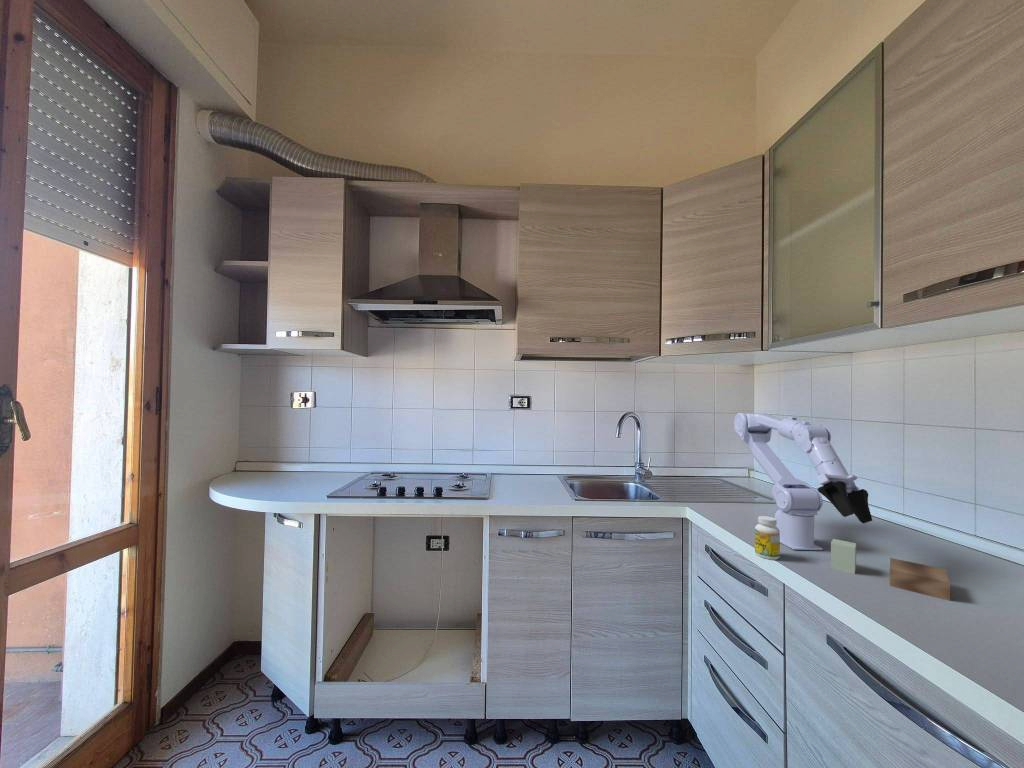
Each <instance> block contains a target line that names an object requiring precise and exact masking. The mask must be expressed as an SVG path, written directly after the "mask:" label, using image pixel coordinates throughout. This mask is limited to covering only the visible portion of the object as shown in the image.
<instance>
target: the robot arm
mask: <svg viewBox="0 0 1024 768" xmlns="http://www.w3.org/2000/svg"><path fill="white" fill-rule="evenodd" d="M733 425H734V431H735V432H736V434H737V435H738V436H739V438H741V440H742V441H743V442H744V444H745V447H746V449H747V450H748V451H749V452H750V454H751V455H752V457H753V458H754V459H755V461H756V462H757V464H758V465H759V466H760V467H761V469H762V470H763V471H764V472H765V474H766V475H767V476H768V478H769V479H770V480H771V482H772V483H773V484H774V485H773V487H772V488H771V489H772V490H771V495H772V496H773V498H774V500H775V501H774V502H775V504H776V505H777V507H778V509H777V510H776V512H775V514H774V517H773V518H775V519H776V520H777V524H776V527H777V528H778V529H779V530H780V544H782V545H784V546H786V547H788V548H790V549H792V550H795V551H823V547H821V546H819V545H817V544H815V516H817V515H818V512H819V511H821V510H822V507H823V504H824V503H823V501H824V500H823V497H824V498H826V500H828V501H829V502H830V503H831V504H832V505H833V506H834V507H835V509H836V510H837V511H838V512H839V514H840V515H841V516H842V517H844V518H847V517H849V516H853V515H854V516H855V517H856V518H857V519H858V521H860V523H862V524H867V523H870V522H872V521H873V518H872V513H871V511H870V506H869V493H868V490H866V489H863V488H861V489H860V487H858V486H856V483H855V481H857V479H858V477H857V475H855V474H850V475H849V473H848V471H847V469H846V467H845V466H844V464H843V463H842V461H841V458H840V456H838V454H837V452H836V451H835V449H834V447H833V445H832V444H831V438H832V435H831V432H830V429H829V428H828V427H827V426H825V425H823V424H814V425H813V424H811V423H810V422H809V421H807V420H805V421H804V420H803V421H801V420H798V418H797V417H795V416H788V417H785V418H783V419H782V418H779V417H777V416H774V415H772V414H771V413H768V412H767V413H749V412H747V413H744V412H738V413H737V414H736V415H735V417H734V421H733ZM773 430H774V431H777V432H778V434H779V435H780V436H781V437H783V438H785V439H789V440H791V441H794V444H796V445H797V446H798V447H800V448H801V449H802V451H803V452H804V453H806V454H807V457H808V458H809V461H811V463H812V466H813V467H814V470H815V471H816V473H817V474H818V475H817V476H815V478H816V480H817V482H818V483H819V485H821V486H820V487H817V489H816V488H814V487H812V486H811V485H810V484H809V483H808V482H806V481H803V480H801V479H799V478H796V477H795V475H793V474H792V472H791V471H790V470H789V469H788V468H787V467H786V465H785V464H784V463H783V462H782V460H781V459H780V458H779V456H777V454H776V453H775V452H774V451H773V449H772V448H771V447H770V446H769V445H768V443H769V442H770V441H771V437H772V432H773ZM822 496H823V497H822Z"/></svg>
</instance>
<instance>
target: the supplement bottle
mask: <svg viewBox="0 0 1024 768" xmlns="http://www.w3.org/2000/svg"><path fill="white" fill-rule="evenodd" d="M757 522H758V524H756V525H755V526H754V553H755V555H756V556H758V557H759V558H762V559H766V560H772V561H777V560H778V559H780V554H781V551H780V550H781V543H780V530H779V529H778V528H777V527H776V524H777V520H776V519H775V518H774V517H772V516H767V515H759V516H758V517H757Z"/></svg>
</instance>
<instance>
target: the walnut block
mask: <svg viewBox="0 0 1024 768" xmlns="http://www.w3.org/2000/svg"><path fill="white" fill-rule="evenodd" d="M889 562H890V563H889V586H890V587H893V588H895V589H901V590H905V591H908V592H912V593H916V594H921V595H924V596H929V597H933V598H936V599H941V600H945V601H949V602H950V601H951V582H950V578H949V577H950V576H949V574H948V571H947V569H945V568H941V567H936V566H932V565H926V564H922V563H916V562H912V561H907V560H903V559H899V558H898V559H897V558H893V557H890V560H889Z"/></svg>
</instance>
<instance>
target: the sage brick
mask: <svg viewBox="0 0 1024 768" xmlns="http://www.w3.org/2000/svg"><path fill="white" fill-rule="evenodd" d="M830 569H833V570H837V571H841V572H845V573H849V574H854V575H855V574H856V570H857V542H856V543H855V542H852V541H846V540H841V539H836V538H832V540H831V542H830Z"/></svg>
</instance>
